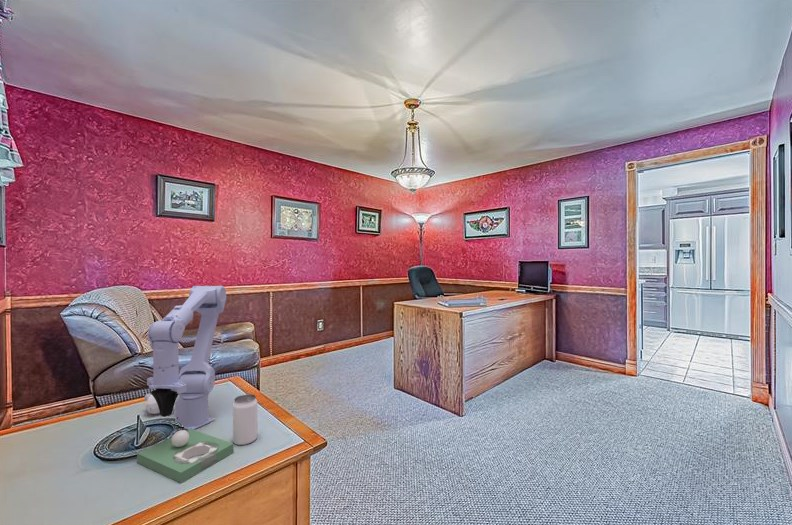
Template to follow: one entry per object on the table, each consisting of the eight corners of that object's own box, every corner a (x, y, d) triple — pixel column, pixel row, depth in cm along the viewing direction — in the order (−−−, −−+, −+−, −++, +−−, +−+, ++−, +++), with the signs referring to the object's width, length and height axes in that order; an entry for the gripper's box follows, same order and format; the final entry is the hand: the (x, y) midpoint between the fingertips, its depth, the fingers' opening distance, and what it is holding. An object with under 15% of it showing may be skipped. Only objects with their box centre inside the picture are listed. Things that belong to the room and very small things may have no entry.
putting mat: (137, 462, 88) (137, 453, 88) (190, 437, 101) (190, 428, 101) (181, 483, 80) (181, 472, 80) (233, 452, 93) (233, 443, 93)
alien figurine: (179, 416, 119) (154, 400, 122) (184, 397, 118) (159, 382, 121) (158, 426, 112) (132, 409, 115) (164, 407, 111) (137, 390, 114)
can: (248, 447, 95) (248, 403, 95) (227, 444, 97) (227, 401, 96) (262, 435, 102) (261, 394, 101) (242, 433, 103) (242, 392, 103)
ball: (168, 447, 90) (168, 432, 90) (183, 440, 94) (183, 426, 94) (177, 451, 89) (177, 436, 89) (192, 444, 92) (192, 429, 92)
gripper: (134, 365, 93) (135, 415, 94) (167, 373, 87) (167, 427, 87) (162, 358, 100) (162, 405, 100) (194, 365, 93) (194, 415, 93)
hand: (166, 415), depth 94 cm, fingers closed
